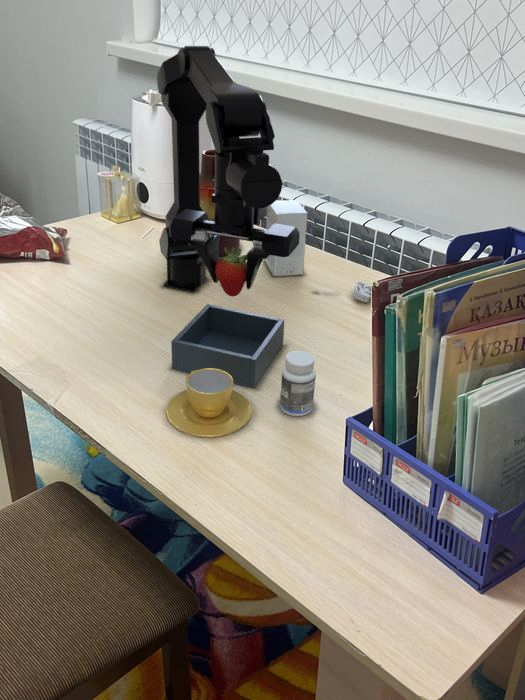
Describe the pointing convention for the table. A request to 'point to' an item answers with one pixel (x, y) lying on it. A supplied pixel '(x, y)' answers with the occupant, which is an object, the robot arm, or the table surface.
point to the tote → (229, 343)
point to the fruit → (232, 272)
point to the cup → (208, 405)
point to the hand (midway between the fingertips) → (232, 285)
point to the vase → (205, 198)
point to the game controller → (361, 291)
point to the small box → (290, 216)
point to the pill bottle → (298, 383)
